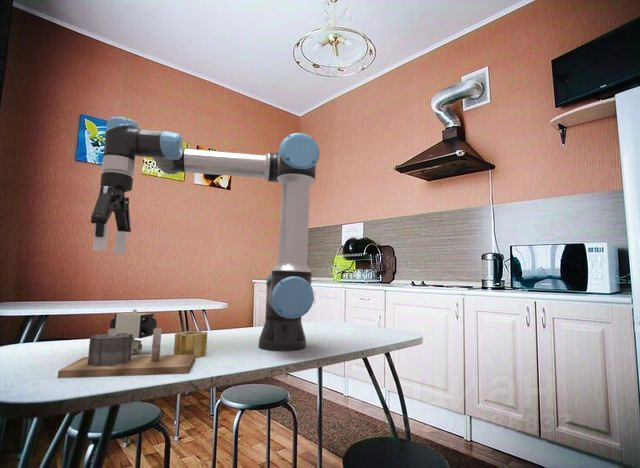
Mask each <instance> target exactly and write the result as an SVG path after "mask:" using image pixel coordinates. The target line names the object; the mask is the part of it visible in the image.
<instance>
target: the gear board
mask: <svg viewBox="0 0 640 468" xmlns="http://www.w3.org/2000/svg"><path fill="white" fill-rule="evenodd" d="M162 331H163V329H162V327H161V328H159V327H156V328H155V329H154V330H153V333H152V343H151V355H131V352H132V340H133V334H127V333H117V329H110V328H108V330H107V333H103V334H94V336H90V337H89V344H88V354H87V355H88V356H84V357H82V358H80V359H77V360H76V361H74V362H72V363H70V364H68V365H66V366H65V367H62V368H60V369H59V370H58V372H57V379H64V378H65V379H70V378H93V377H94V378H95V377H120V376H121V377H124V376H151V375H153V376H154V375H179V374H183V375H184V374H190V372H191V370H192V368H193V366H194V364H195V363H196V362H195V361H196V358H195V356H196V354H193V355H174V354H165V355H164V354H162V355H161V343H162Z"/></svg>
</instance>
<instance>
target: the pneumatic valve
mask: <svg viewBox="0 0 640 468" xmlns="http://www.w3.org/2000/svg"><path fill="white" fill-rule="evenodd" d="M154 315H155V314H154V313H147V312H138V310H137V309H133V310H132V312H119V313H118V312H117V313H115V314H114V317H112V319H110V323H109V329H117V333H127V334H133V340H132V352H131V356H134V355H135V354H140V353H141V352H142V349H143V344H142V343H143V341H142V340H140V339H144V338H148V337H153V330H154V329H155V328H158V327H157V326H158V323H157V320H156V318H155V317H154Z"/></svg>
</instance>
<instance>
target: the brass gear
mask: <svg viewBox="0 0 640 468" xmlns="http://www.w3.org/2000/svg"><path fill="white" fill-rule="evenodd" d="M208 334H209V333H208V332H207V331H201V330H195V331H192V330H191V331H190V330H185V331H180V332H179V331H178V332H176V333H175V334H174V342H173V344H174V345H173V346H174V347H173V355H193V354H196V356H195V359H197V358H200V357H202V356H203V358H204V357H206V355H207V349H208V348H207V347H208Z"/></svg>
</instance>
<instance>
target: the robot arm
mask: <svg viewBox="0 0 640 468" xmlns="http://www.w3.org/2000/svg"><path fill="white" fill-rule="evenodd" d="M106 122H107V124H106V128H105V132H104V148H103V157H102V161H101V162H100V164H101V166H102V168H101V171H102V173H101V175H100V189H99V194H98V197H97V200H96V202H95V206H94V208H93V210H92V213H91V217H90V218H91V219H90V224H93V225H94V224H95V225H94V233H93V244H92V251H94V252H95V251H96V252H107V242H108V234H109V232H108V231H109V224H107V223H108V221H109V220H110V218H111V215H112V213H113V214H114V218H115V224H116V228H117V231H116V232H115V239H114V240H115V241H114V249H113V250H114V251H113V255H123V256H124V255H125V256H126V251H127V250H126V249H127V240H128V233H131V232H132V228H131V216H130V207H129V206H130V198H129V197H127V196H126V194H125V193H127V192H131V191H132V190H133V185H134V184H133V183H134V179H133V176H134V173H135V162H136V157H143V158H152V159H153V160H152V161H154V162H155V164H156V166H157V168H158V169H159V170H161V171H162V172H163V173H164V174H166V175H176V174H178V173H190V174H202V175H203V174H204V175H216V176H217V175H218V176H228V177H229V176H231V177H244V178H256V179H257V178H259V179H264V180H265V182H268V183H269V182H272V183H279V184H280V185H281V192H280V213H279V229H278V230H279V231H278V246H277V247H278V248H277V250H278V251H277V264H276V265H275V266H274V267H273V268H272V269H271V273H270V274H269V275H267V278H266V279H267V280H266V284H265V286H266V294H265V295H266V300H265V301H266V302H265V321H264V325H263V328H262V330H261V333H260V335H259V338H258V347H259V348H260V349H263V350H266V351H267V350H268V351H280V352H281V351H298V350H302V349H303V350H304V349H305V348H306V347H307V338H306V334H305V331H304V328H303V324H302V317H303V316H305V315H306V314H307V313H308V312H309V311H310V310H311V308H312V307H313V305H314V300H315V294H314V290H313V286H312V273H313V272H312V270H311V269H310V268H309V267H308V265H307V264H308V245H309V243H308V242H309V241H308V239H309V223H310V222H309V221H310V220H309V219H310V218H309V215H310V196H311V193H310V192H311V186H312V185H314V184H315V183H316V176H317V175H316V173H317V172H316V171H317V164H318V162H319V160H320V156H321V155H320V153H321V150H320V147H319V144H318V142H316V140H315V139H314V138H313V137H312V136H310V135H308V134H306V133H303V132H295V133H294V132H293V133H290V134H288V135H287V136H286V137H284V139H283V140H282V141H281V143H280V145H279V150H278V152H267V153H266V154H252V153H242V152H228V151H221V150H220V151H217V150H208V149H207V150H206V149H205V150H204V149H194V148H183V147H184V146H183V145H184V144H183V137H182V135H181V134H180V133H177V132H171V131H168V130H165V131H164V130H154V129H144V128H139V126H138V124H137V122H136V121H134V120H132V119H130V118H125V117H123V116H113V117H110V118H109V119H108V121H106Z"/></svg>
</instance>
